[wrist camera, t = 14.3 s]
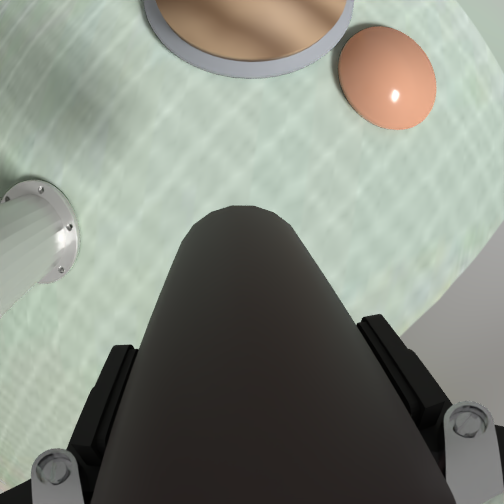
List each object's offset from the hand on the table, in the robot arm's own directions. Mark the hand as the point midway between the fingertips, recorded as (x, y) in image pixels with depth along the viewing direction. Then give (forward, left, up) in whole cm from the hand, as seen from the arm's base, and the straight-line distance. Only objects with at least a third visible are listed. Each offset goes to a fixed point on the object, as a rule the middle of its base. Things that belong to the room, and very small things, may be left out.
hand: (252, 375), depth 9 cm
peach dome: (+18, +13, -26) cm, 34 cm away
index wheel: (+4, +23, -24) cm, 34 cm away
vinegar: (0, 0, -9) cm, 9 cm away
